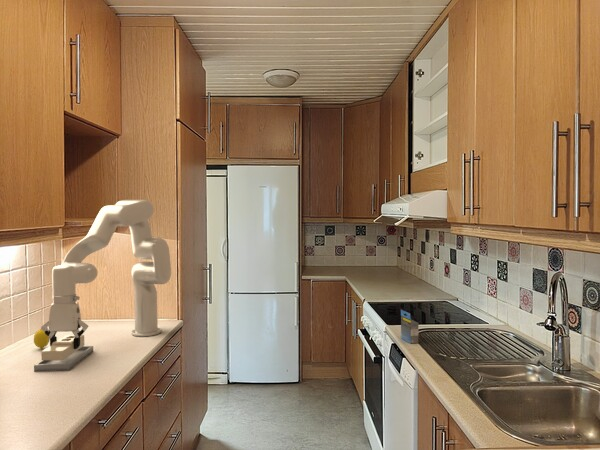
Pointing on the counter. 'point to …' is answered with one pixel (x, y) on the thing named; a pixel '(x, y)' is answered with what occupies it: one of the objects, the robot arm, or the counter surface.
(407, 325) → the label tape cartridge
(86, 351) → the grey rectangular tray
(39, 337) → the lemon
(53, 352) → the electrical outlet
